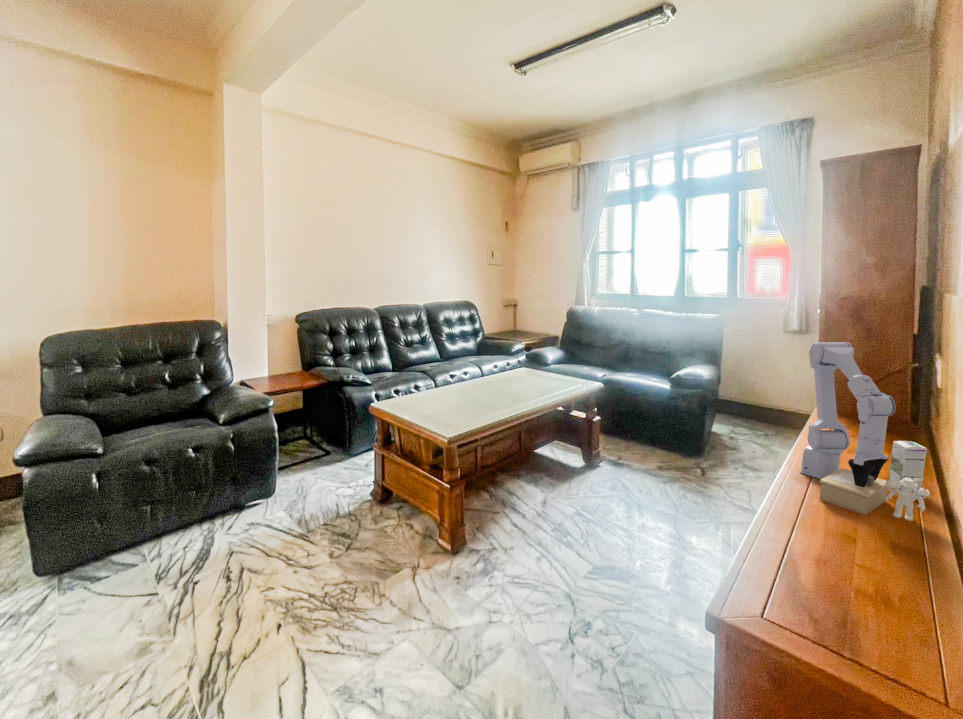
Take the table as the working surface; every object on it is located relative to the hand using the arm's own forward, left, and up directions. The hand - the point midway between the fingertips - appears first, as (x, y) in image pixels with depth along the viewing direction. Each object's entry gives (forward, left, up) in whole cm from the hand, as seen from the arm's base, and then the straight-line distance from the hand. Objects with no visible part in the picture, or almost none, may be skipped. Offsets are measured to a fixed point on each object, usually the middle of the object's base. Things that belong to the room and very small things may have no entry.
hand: (865, 482), depth 130 cm
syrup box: (+3, +21, -7) cm, 22 cm away
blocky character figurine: (+9, 0, -7) cm, 11 cm away
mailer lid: (-3, 0, -1) cm, 3 cm away
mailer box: (-2, 0, -6) cm, 7 cm away
